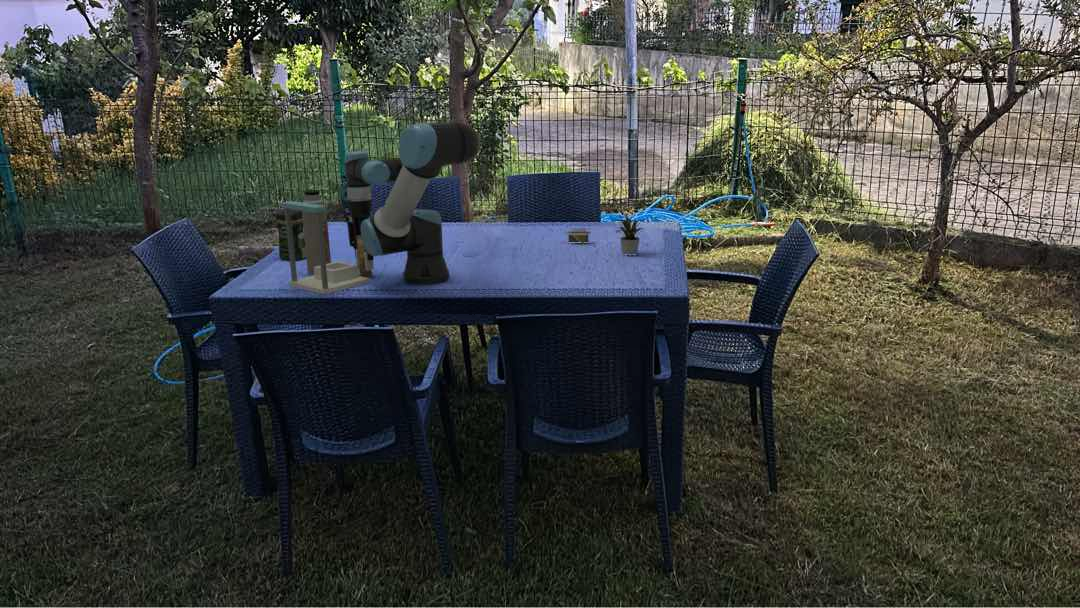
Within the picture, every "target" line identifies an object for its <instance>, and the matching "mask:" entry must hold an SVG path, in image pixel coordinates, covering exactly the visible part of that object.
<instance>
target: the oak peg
mask: <svg viewBox="0 0 1080 608" xmlns="http://www.w3.org/2000/svg"><path fill="white" fill-rule="evenodd" d="M356 237H357V249H358V262H359V269H358V272H359V276H361V277H366V278H370V277H369V276H371V277H372V276H373V275H372V274H373V272H372V270H368V271H367V270H366V267H365V254H364V250H366V249H365V246H364V244H363V241H362V237H361V234H360V235H356Z"/></svg>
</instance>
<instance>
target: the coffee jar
mask: <svg viewBox="0 0 1080 608" xmlns="http://www.w3.org/2000/svg"><path fill="white" fill-rule="evenodd" d="M290 214H291V224H292V233H293V243H294V252H295V261H300V260H305V259H306V248H305V238H304V228H303V218H302V211H301V210H294V209H290ZM275 223H276V225H277V229H278V255H279V259H280V260H285V261H290V257H289V247H288V238H287V229H286V219H285V210H284V208H282V209H278V210H276V212H275Z"/></svg>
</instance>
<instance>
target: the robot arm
mask: <svg viewBox="0 0 1080 608" xmlns="http://www.w3.org/2000/svg"><path fill="white" fill-rule="evenodd" d="M398 144H399V146H398V147H397V148H398V149H397V150H398V151H397V152H398V157H394V158H393V157H390V158H379V159H377V158H376V159H370V158H369V153H368V152H367V151H364V150H363V151H362V150H355V151H354V150H351V151H346V152H345V154H344V168H345V178H346V193H347V199H349V200H348V201H347V203H348V212H350V213H351V214H350V216H347V217H345V222H346V224H347V233H348V241H349V246H350V247H352V249H354V256H355V262H356V264H355V265H358V270H359V262H358V249H357V237H356V235H360V234H361V237H362V241H363V244H364V246H365V249H366V250H364V254H365V267H366V270H367V271H368V270H371V271H372V270H374V269H375V268H374V257H379V256H381V257H383V256H387V255H394V254H398V253H405V252H406V256H407V257H406V262H405V266H404V271H403V272H402V278H403V279H402V280H403V282H404V283H406V284H411V285H418V286H419V285H421V286H422V285H423V286H424V285H425V286H426V285H435V283H436V284H441V283H443V282H446V281H448V280H450V270H449V268H448V266H447V262H446V260H445V257H444V250H443V249H444V248H443V247H444V246H443V228H442V227H443V223H442V222H443V221H442V217H441V214H440V213H439V211H437V210H432V209H425V208H417V206H418V205H419V204H418V203H419V202H420V200H421V199H422V196H423V194H424V192H425V191H426V189H427V187H428V186H429V183H430V181H431V180H433V179H435V178H437V177H438V176H440V173H441V172H442V170H443V168H446V167H447V166H452V165H462V164H466V163H469V162H471V161H472V160H474V159H475V158H476V157H477V156H478V154H479V153H480V152H479V151H480V149H481V139H480V136H479V134H478V132H477V131H476V130H475V128H473V127H472V126H471V125H469V124H467V123H465V122H460V121H449V122H448V121H447V122H432V123H426V122H419V123H414V124H411V125H408V126H406V127H405V128H404V129H403V130H402V132H401V133H400V135H399V139H398ZM387 183H388V184H389V183H394V184H393V185H392V186H393V187H392V188H391V191H390V192H389V195H388V197H387V199H386V201H385V203H384V205H383V206H381V207H380V208H377V209H376V211H375V213H374V214H373V217H372V216H371V211H372V210H373V202H372V199H371V198H372V192H371V186H381V185H385V184H387ZM440 282H441V283H440Z"/></svg>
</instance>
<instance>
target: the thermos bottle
mask: <svg viewBox="0 0 1080 608" xmlns="http://www.w3.org/2000/svg"><path fill="white" fill-rule="evenodd" d="M320 194H321V193H320V190H309V191H305V192H304V195H305V196H304V197H305V200H304V201H303V202H302V203H309V204H316V205H323V206H325V205H324V204H325V203H324V200H322V199H321V195H320ZM327 213H328V211H324V212H321V216H322V227H323V238H324V248H325V259H326V264H329V263H332V258H331V257H332V256H331V248H330V246H331V245H330V236H329V226H328V225H329V224H328V214H327ZM302 218H303V232H304V239H305V248H306V258H305V259H306V265H307V274H308V275H309V274H310V275H309V276H314V267H316V266H320V256H319V245H318V235H317V224H316V214H315V213H314V212H307V211H302Z"/></svg>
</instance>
